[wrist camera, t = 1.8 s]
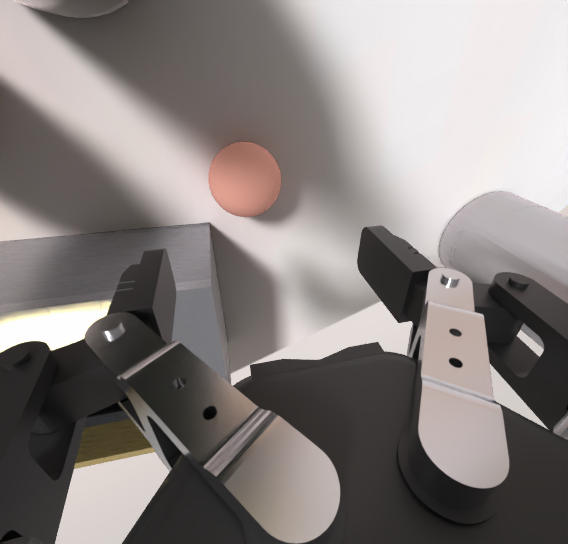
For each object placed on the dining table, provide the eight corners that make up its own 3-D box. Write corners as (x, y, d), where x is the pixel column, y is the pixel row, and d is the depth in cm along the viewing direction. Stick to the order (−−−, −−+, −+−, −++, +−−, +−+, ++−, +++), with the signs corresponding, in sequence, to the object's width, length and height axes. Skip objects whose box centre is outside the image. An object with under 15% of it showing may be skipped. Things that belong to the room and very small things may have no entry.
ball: (273, 133, 22) (288, 148, 18) (274, 199, 25) (288, 225, 21) (203, 136, 22) (203, 153, 18) (213, 204, 24) (214, 232, 20)
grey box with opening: (209, 222, 25) (211, 314, 16) (227, 342, 33) (236, 452, 24) (-46, 245, 22) (-231, 377, 13) (41, 372, 30) (-34, 511, 21)
